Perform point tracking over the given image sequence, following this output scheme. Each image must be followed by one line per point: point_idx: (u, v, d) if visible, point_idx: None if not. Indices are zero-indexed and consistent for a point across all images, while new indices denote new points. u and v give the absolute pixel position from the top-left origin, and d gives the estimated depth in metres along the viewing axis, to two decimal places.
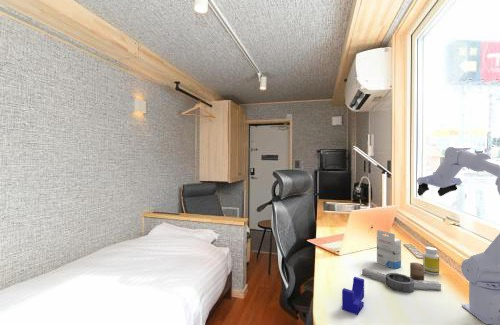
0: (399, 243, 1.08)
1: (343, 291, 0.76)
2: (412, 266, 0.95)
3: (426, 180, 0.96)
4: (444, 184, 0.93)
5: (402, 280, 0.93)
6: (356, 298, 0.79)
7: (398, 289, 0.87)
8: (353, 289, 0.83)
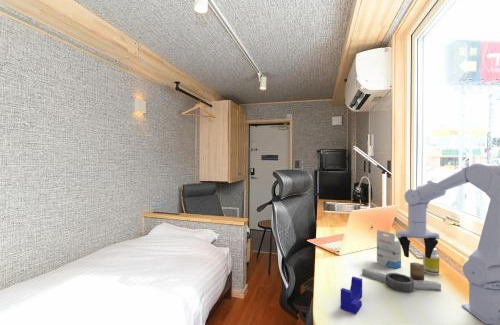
0: (399, 243, 1.08)
1: (341, 291, 0.76)
2: (412, 266, 0.95)
3: (403, 232, 0.96)
4: (421, 232, 0.93)
5: (402, 280, 0.93)
6: (354, 298, 0.80)
7: (398, 289, 0.87)
8: (351, 289, 0.83)
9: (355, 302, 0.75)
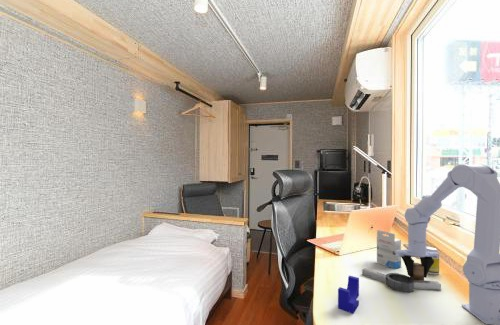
0: (399, 243, 1.08)
1: (339, 290, 0.76)
2: None
3: (403, 251, 0.96)
4: (421, 252, 0.93)
5: (402, 280, 0.93)
6: (351, 297, 0.80)
7: (398, 289, 0.87)
8: (348, 288, 0.83)
9: (352, 301, 0.75)
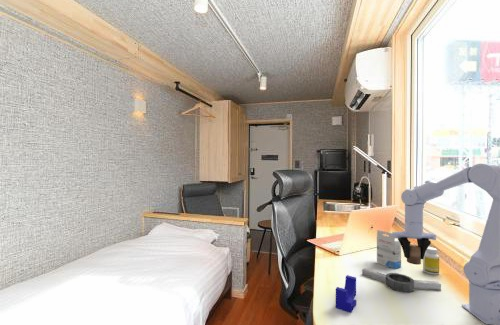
0: (399, 243, 1.08)
1: (336, 290, 0.76)
2: None
3: (400, 233, 0.95)
4: (417, 232, 0.92)
5: (402, 280, 0.93)
6: (349, 296, 0.81)
7: (398, 289, 0.87)
8: (345, 288, 0.84)
9: (350, 301, 0.75)
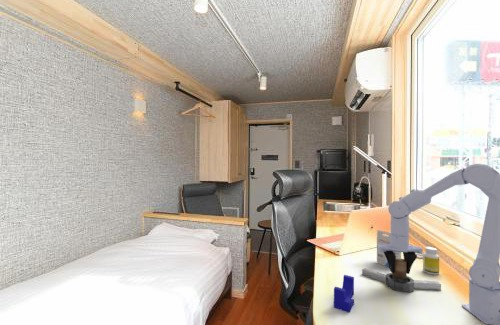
0: None
1: (335, 289, 0.77)
2: None
3: (385, 246, 0.91)
4: (403, 246, 0.88)
5: (402, 280, 0.93)
6: (347, 296, 0.81)
7: (398, 289, 0.87)
8: (343, 287, 0.84)
9: (348, 300, 0.76)
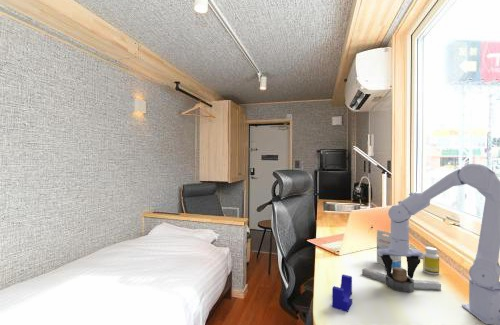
0: None
1: (333, 289, 0.77)
2: (394, 271, 0.90)
3: (385, 250, 0.91)
4: (403, 250, 0.88)
5: None
6: (345, 295, 0.81)
7: (398, 289, 0.87)
8: (341, 287, 0.84)
9: (346, 300, 0.76)
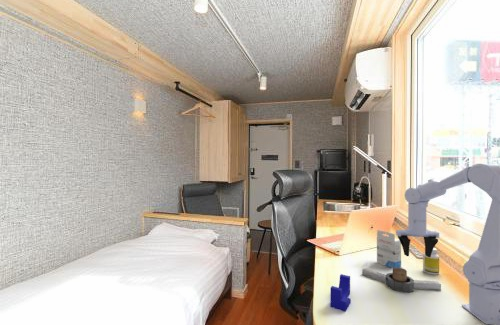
0: (399, 243, 1.08)
1: (331, 289, 0.77)
2: (394, 271, 0.90)
3: (404, 231, 0.96)
4: (421, 230, 0.93)
5: None
6: (343, 295, 0.81)
7: (398, 289, 0.87)
8: (340, 287, 0.84)
9: (344, 299, 0.76)
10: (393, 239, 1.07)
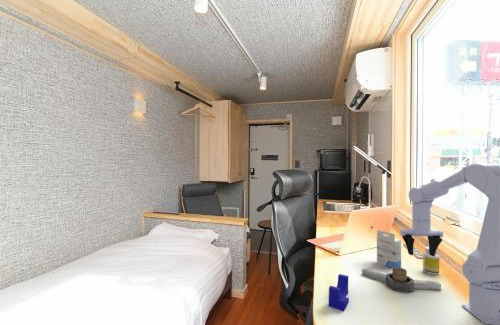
0: (399, 243, 1.08)
1: (330, 288, 0.77)
2: (394, 271, 0.90)
3: (408, 230, 0.97)
4: (425, 230, 0.94)
5: None
6: (341, 295, 0.81)
7: (398, 289, 0.87)
8: (338, 286, 0.85)
9: (343, 299, 0.76)
10: (393, 239, 1.07)
